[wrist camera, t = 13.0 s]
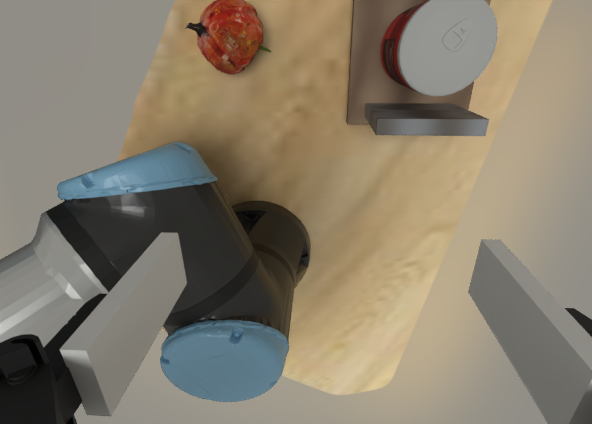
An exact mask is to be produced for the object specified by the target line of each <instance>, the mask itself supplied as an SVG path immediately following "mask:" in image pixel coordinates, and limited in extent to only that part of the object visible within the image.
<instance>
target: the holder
mask: <svg viewBox="0 0 592 424" xmlns="http://www.w3.org/2000/svg"><path fill="white" fill-rule="evenodd" d="M424 1H427V0H353V17H352V35H351V53H350V71H349V89H348V107H347V124H369V125H370V126H371V128H372V129H373V131H374V133H375V134H376V135H431V136H485V135H486V131H487V126H488V122H489V119H487V118H484V117H482V116H480V115H477V114H475V113H473V112H471V111H468V109H469V104H470V99H471V94H472V89H473V84H474V81H473V82H472V83H471V84H470V85H468V86H467V87H465V88H464V89H462V90H460V91H458V92H455V93H453V94H449V95H445V96H429V95H424V94H421V93H418V92H416V91H413V90H411V89H409V88H407V87H405V86H403V85H401V84H399V83H397V82H395V81H394V80H393V79H391V78H390V77H389V76H388V75H387V73H386V72H385V70H384V68H383V65H382V62H381V54H380V52H381V44H382V40H383V37H384V35H385V33H386V30H387V29H388V27H389V26H390V24H391V23H392V22H393V21H394V20H395V18H396V17H397V16H399V15H400V14H401V13H403V12H404V11H406V10H408V9H410V8H412V7H414V6H416V5H418V4H420V3H422V2H424ZM484 1H485V2H487V4H488V5H490V0H484Z"/></svg>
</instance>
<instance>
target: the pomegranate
mask: <svg viewBox="0 0 592 424" xmlns="http://www.w3.org/2000/svg"><path fill="white" fill-rule="evenodd" d="M186 28H189V29H192V30H194V31H196V32H197V34H198V47H199V48H200V50H201V52H202V54H203V55H204V56H205V58H206V59H207V60H208V61H209V62H210V63H211V64H212V65H213V66H214V67H215V68H216V69H217V70H220V71H221V72H224V73H227V74H236V73H239V72H241V71H243V70H244V69H245V67H246V66H247V65H248V64H249V63H250V62H251V61H252V59H253V57H254V55H255V54H256V52H257V51H258V49H259V48H260V49H263V50H266V51H269V52H271V51H270V50H268V49H267V48H263V47H262V46H261V44H262V42H263V26H262V23H261V21H260V20H259V18H258V17H257V12H256V9H255V8H254V7H253V6H252V5H250V4H248V3H247V2H246V1H244V0H217V1H215V2H213V3H211V4H210V5H209V6H208V7H207V8H206V9H205V10H204V11H203V13H202V15H201V17H200V23H198V24H192V23H189V24H188V25H187V26H186V27H185V29H186Z"/></svg>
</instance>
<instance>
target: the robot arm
mask: <svg viewBox="0 0 592 424" xmlns="http://www.w3.org/2000/svg"><path fill="white" fill-rule="evenodd" d="M217 180H218V179H217V177H216V176H215V175H213V174H212V172H211V171H210V169H209V168H208V167H207V165H206V164H205V162H204V160H203V159H202V157H201V156H200V154H199V152H198V151H197V150H196V149H195V148H194V147H193V146H191V145H190V144H188V143H185V142H173V143H169V144H166V145H163V146H161V147H158V148H155V149H152V150H149V151H146V152H144V153H141V154H138V155H135V156H133V157H130V158H127V159H124V160H121V161H118V162H116V163H113V164H110V165H107V166H105V167H102V168H99V169H96V170H93V171H91V172H88V173H85V174H83V175H80V176H77V177H75V178H71V179H68V180H66V181H63V182H61V183H59V184H58V186H57V190H58V197H59V198H60V199H61V200H63V199H64V200H65V201H64V202H63V203H61V204H59V205H57V206H55V207H53V208H51V209H50V210H48V211H46V212H44V213H42V214H41V217H40V221H39V224H38V228H37V232H36V235H35V237H34V239H33V240H32V242H31V243H29V244H28V245H26V246H24V247H22V248H20V249H19V250H17V251H15V252H13V253H11V254H10V255H8V256H6V257H4V258H2V259H1V260H0V424H77V422H76V419H75V417H74V413H75V411H76V410H77V409H78V407H79V405H80V404H81V403H82V404H83V407H84V409H85V411H86V414H87V415H97V416H111V415H112V413H113V412H114V410H115V408H116V407H117V405H118V403H119V401H120V400H121V398H122V396H123V394H124V393H125V391H126V389H127V387H128V386H129V384H130V382H131V380H132V379H133V377H134V375H135V373H136V372H137V370H138V368H139V366H140V365H141V363H142V361H143V359H144V358H145V356H146V354H147V352H148V351H149V349H150V347H151V345H152V344H153V342H154V340H155V338H156V337H157V335H158V333H159V331H160V330H161V328H162V326H163V327H164V328H165V330H166V331H167V333H168V337H167V338H166V339H165V341H164V343H163V344H162V356H161V358H160V363H161V368H162V370H163V372H164V374H165V376H166V377H167V378H168V379H169V380H170V382H171V383H173V384H174V385H175V386H176V387H178V388H179V389H181V390H182V391H184V392H186V393H188V394H190V395H193V396H196V397H199V398H202V399H209V400H213V401H219V402H234V401H235V402H236V401H243V400H247V399H251V398H254V397H257V396H259V395H261V394H263V393H265V392H267V391H268V390H269V389H271V387H273V386H274V385H275V384H276V382H277V380H278V379H279V378H280V376H281V374H282V372H283V368H284V364H285V360H286V356H287V354H288V351H289V345H288V344H289V342H288V339H289V330H290V321H291V312H292V303H293V294H294V289H295V287H296V286H297V284H298V283H299V282H300V280H301V279H302V277H303V276H304V274H305V272H306V270H307V268H308V265H309V261H310V239H309V236H308V233H307V231H306V229H305V227H304V225H303V224H302V223H301V221H300V220H299V219H298V218H297V217H296V216H295V215H294V214H292V213H291V212H290V211H288V210H287V209H285V208H283V207H281V206H279V205H276V204H273V203H269V202H262V201H251V202H245V203H241V204H238V205H236V206H234V207H231V205H230V204H229V202H228V200H227V198H226V196H225V195H224V193H223V191H222V189H221V187H220V186H219V184H218V182H217ZM468 292H469V294H470V296H471V297H472V299H473V301H474V302H475V304H476V306H477V307H478V309H479V311H480V312H481V314H482V315H483V317H484V319H485V320H486V322H487V324H488V325H489V327H490V329H491V330H492V332H493V334H494V335H495V337H496V339H497V340H498V342H499V344H500V345H501V347H502V348H503V350H504V352H505V353H506V355H507V357H508V358H509V360H510V362H511V363H512V365H513V367H514V368H515V370H516V371H517V373H518V375H519V377H520V378H521V380H522V381H523V383H524V385H525V386H526V388H527V390H528V391H529V393H530V395H531V396H532V398H533V400H534V401H535V403H536V404H537V406H538V408H539V410H540V411H541V413H542V414H543V416H544V418H545V420H546V421H547V423H548V424H592V320H591V319H590V318H588V317H587V316H585V315H583V314H582V313H580V312H579V311H577V310H576V309H574V308H564V307H563V306H562V305H561V304H560V303H559V302H558V301H557V300H556V299H555V298H554V296H553V295H552V294H551V293H550V292H549V291H548V290H547V289H546V288H545V287H544V286H543V285H542V284H541V283H540V282H539V280H538V279H537V278H536V277H535V276H534V275H533V274H532V273H531V272H530V271H529V270H528V269H527V268H526V267H525V266H524V265H523V264H522V262H521V261H520V260H519V259H518V258H517V257H516V256H515V255H514V254H513V253H512V252H511V251H510V250H509V249H508V247H507V246H506V245H505V244H504V243H503V242H502V241H501V240H485V239H482V240H481V243H480V247H479V252H478V255H477V259H476V263H475V267H474V271H473V275H472V279H471V283H470V287H469V291H468Z"/></svg>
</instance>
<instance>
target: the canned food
mask: <svg viewBox="0 0 592 424" xmlns="http://www.w3.org/2000/svg"><path fill="white" fill-rule="evenodd" d="M496 41H497V23H496V18H495V16H494V13H493V11H492V9H491V8H490V6H489V5H488V4H487V2H485V1H484V0H427V1H424V2H422V3H420V4H418V5H416V6H414V7H412V8H410V9H408V10H406V11H404V12H403V13H401V14H400V15H399V16H397V17H396V18H395V20H394V21H393V22H392V23H391V24H390V26H389V27H388V29H387V30H386V33H385V35H384V37H383V40H382V44H381V52H380V54H381V62H382V65H383V68H384V70H385V72H386V73H387V75H388V76H389V77H390V78H391V79H393V80H394V81H395V82H397V83H399V84H401V85H403V86H405V87H407V88H409V89H411V90H413V91H416V92H418V93H421V94H424V95H429V96H445V95H449V94H453V93H455V92H458V91H460V90H462V89H464V88H465V87H467V86H468V85H470V84H471V83H472V82H473V81H474V80H475V79H477V78H478V77H479V75H480V74H481V73H482V72H483V71H484V69H485V68H486V66H487V65H488V63H489V61H490V60H491V57H492V55H493V52H494V50H495V46H496Z"/></svg>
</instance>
